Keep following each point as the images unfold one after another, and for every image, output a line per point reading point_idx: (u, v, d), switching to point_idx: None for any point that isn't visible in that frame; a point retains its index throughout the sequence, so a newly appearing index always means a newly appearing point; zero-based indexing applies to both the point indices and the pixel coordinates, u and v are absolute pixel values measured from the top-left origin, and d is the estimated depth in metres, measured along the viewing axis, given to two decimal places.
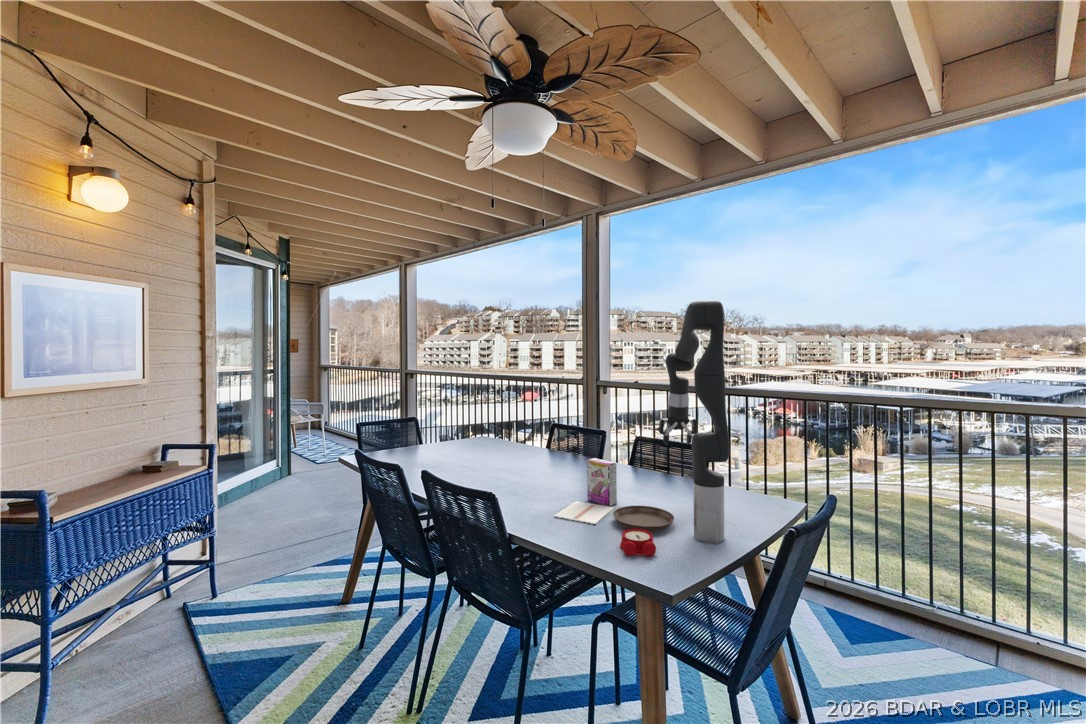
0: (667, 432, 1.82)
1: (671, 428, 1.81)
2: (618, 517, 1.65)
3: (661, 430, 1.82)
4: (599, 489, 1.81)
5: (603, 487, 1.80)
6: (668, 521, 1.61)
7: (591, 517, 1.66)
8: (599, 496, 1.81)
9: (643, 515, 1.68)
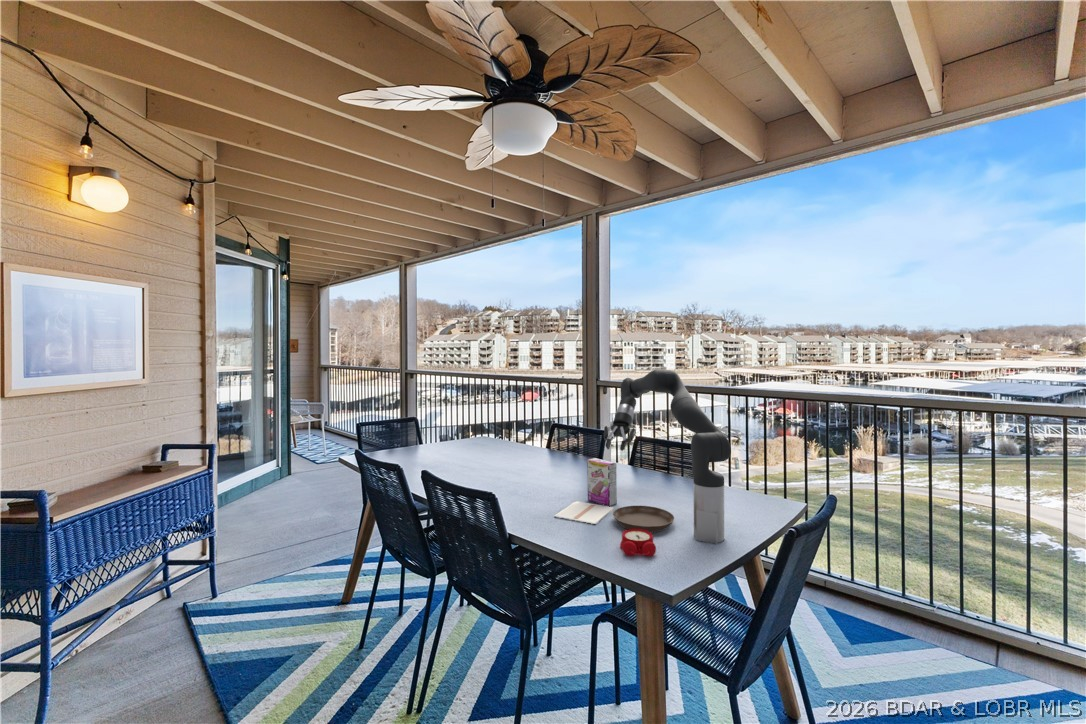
0: (609, 436, 2.00)
1: (612, 431, 2.00)
2: (618, 517, 1.65)
3: (604, 434, 2.01)
4: (599, 489, 1.81)
5: (603, 487, 1.80)
6: (668, 521, 1.61)
7: (591, 517, 1.66)
8: (599, 496, 1.81)
9: (643, 515, 1.68)
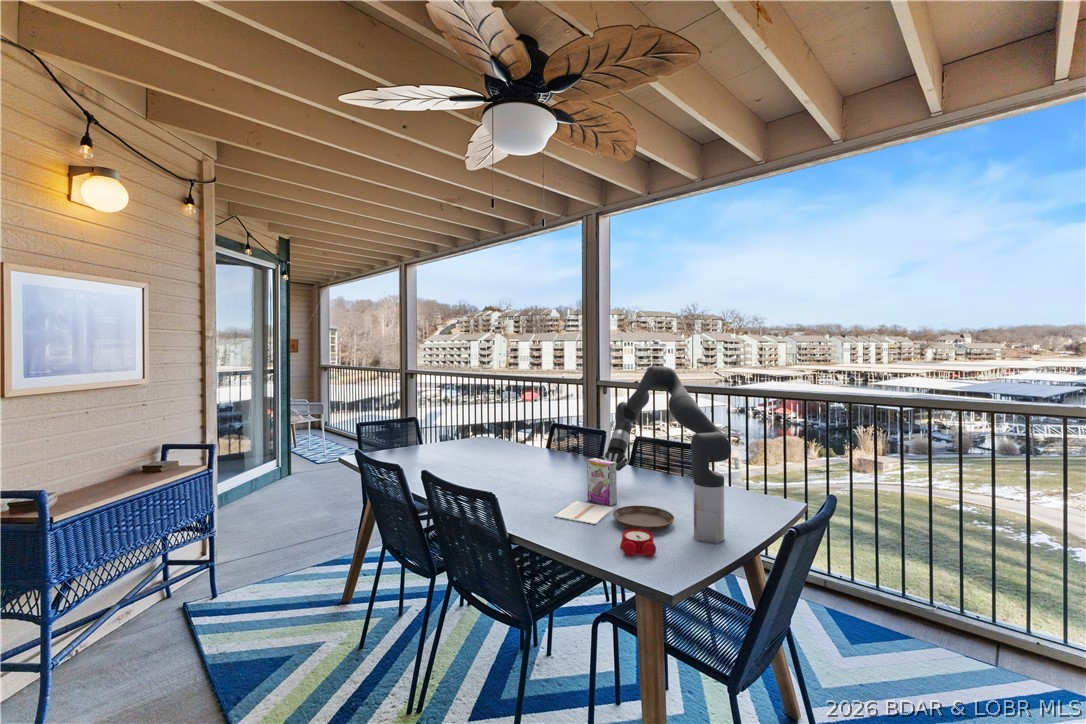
0: None
1: (609, 459, 1.94)
2: (618, 517, 1.65)
3: None
4: (599, 489, 1.81)
5: (603, 487, 1.80)
6: (668, 521, 1.61)
7: (591, 517, 1.66)
8: (599, 496, 1.81)
9: (643, 515, 1.68)
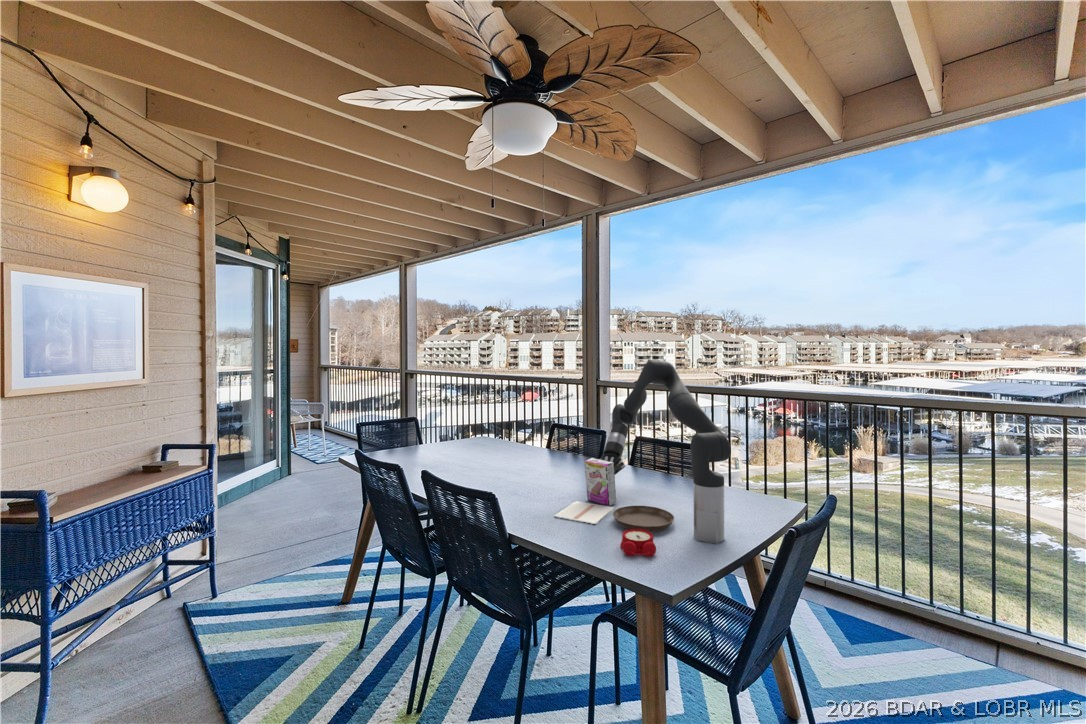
0: None
1: None
2: (618, 517, 1.65)
3: None
4: (598, 489, 1.81)
5: (602, 488, 1.79)
6: (668, 521, 1.61)
7: (591, 517, 1.66)
8: (599, 496, 1.81)
9: (643, 515, 1.68)
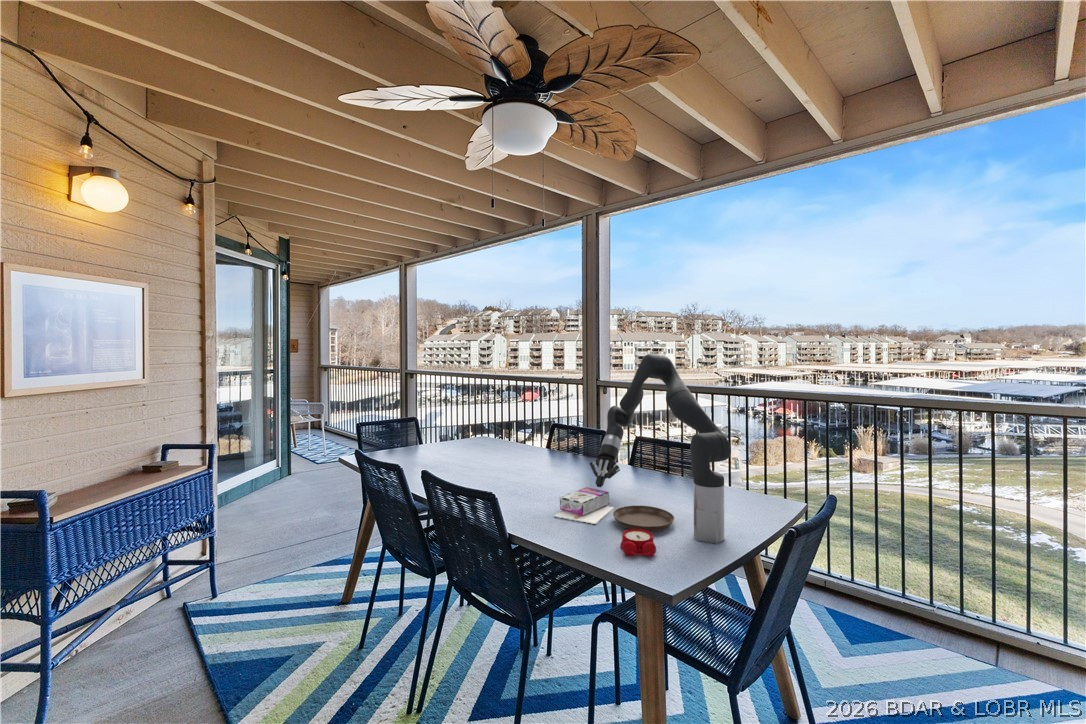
0: (599, 472, 1.84)
1: (599, 466, 1.85)
2: (618, 517, 1.65)
3: (593, 470, 1.85)
4: None
5: None
6: (668, 521, 1.61)
7: (591, 517, 1.66)
8: None
9: (643, 515, 1.68)
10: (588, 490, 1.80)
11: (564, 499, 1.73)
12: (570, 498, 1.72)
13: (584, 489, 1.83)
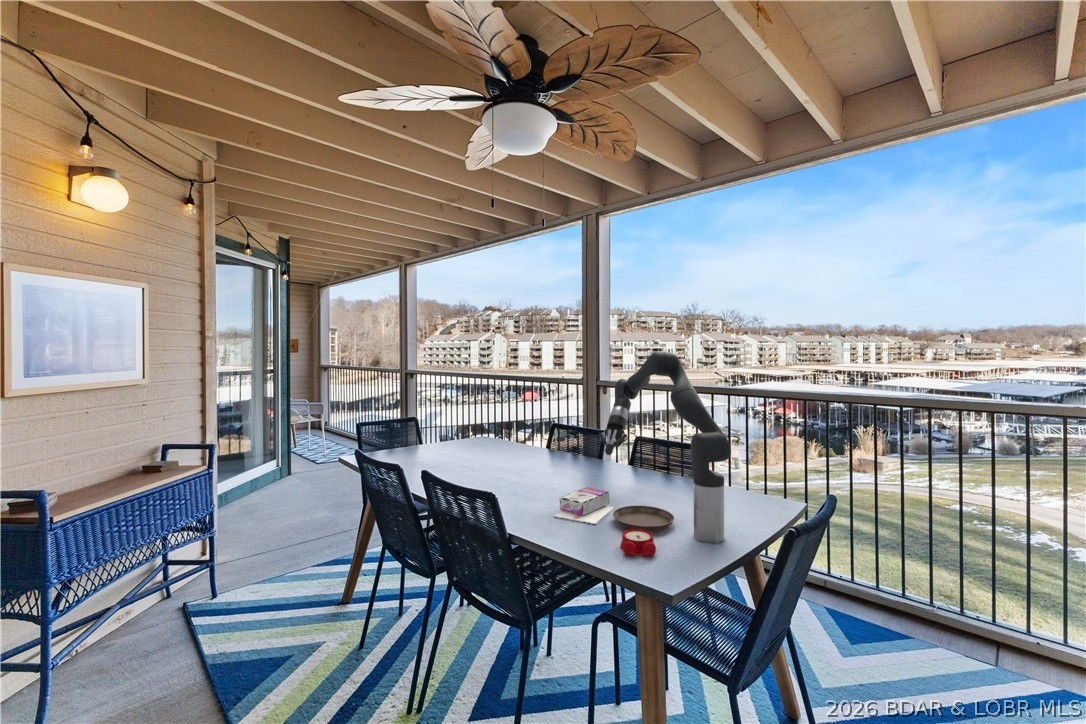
0: (608, 441, 1.91)
1: (608, 435, 1.92)
2: (618, 517, 1.65)
3: (603, 439, 1.93)
4: None
5: None
6: (668, 521, 1.61)
7: (591, 517, 1.66)
8: None
9: (643, 515, 1.68)
10: (588, 490, 1.80)
11: (564, 499, 1.73)
12: (570, 498, 1.72)
13: (584, 489, 1.83)
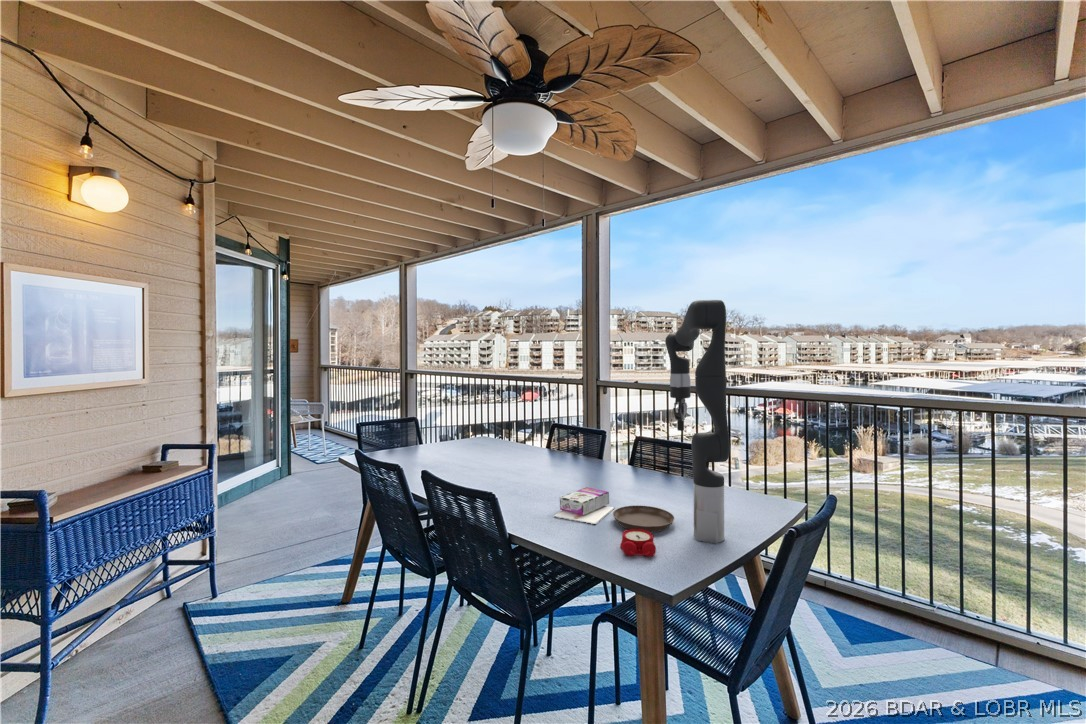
0: None
1: None
2: (618, 517, 1.65)
3: None
4: None
5: None
6: (668, 521, 1.61)
7: (591, 517, 1.66)
8: None
9: (643, 515, 1.68)
10: (588, 490, 1.80)
11: (564, 499, 1.73)
12: (570, 498, 1.72)
13: (584, 489, 1.83)
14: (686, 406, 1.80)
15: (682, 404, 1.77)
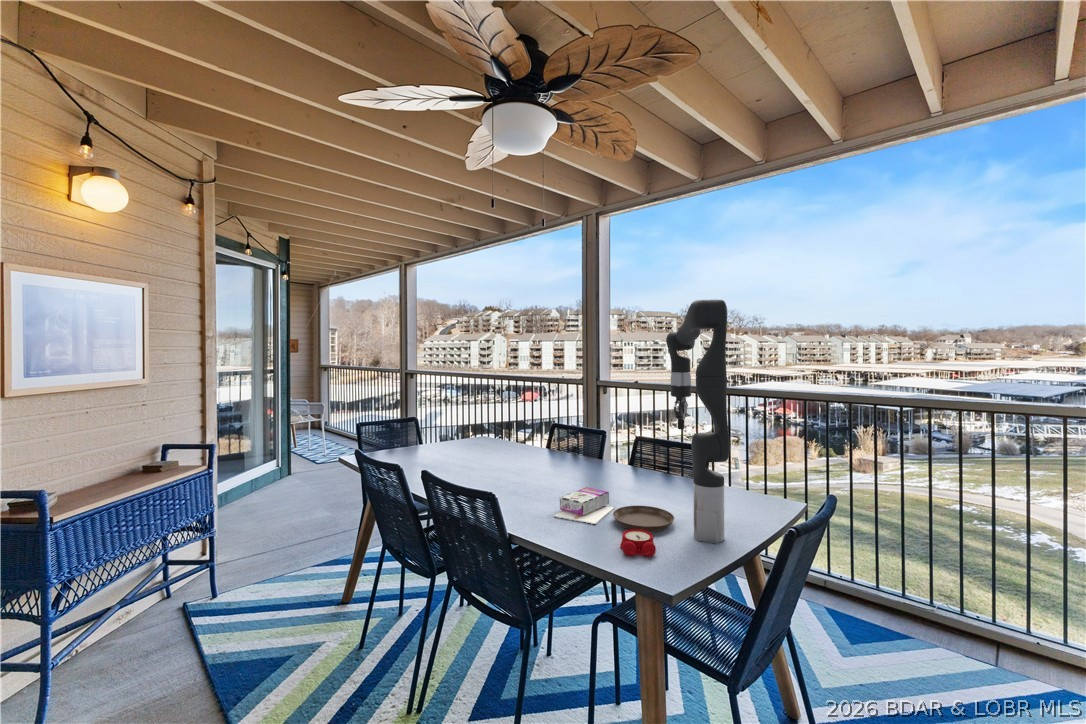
0: None
1: None
2: (618, 517, 1.65)
3: None
4: None
5: None
6: (668, 521, 1.61)
7: (591, 517, 1.66)
8: None
9: (643, 515, 1.68)
10: (588, 490, 1.80)
11: (564, 499, 1.73)
12: (570, 498, 1.72)
13: (584, 489, 1.83)
14: (687, 405, 1.80)
15: (683, 403, 1.77)
